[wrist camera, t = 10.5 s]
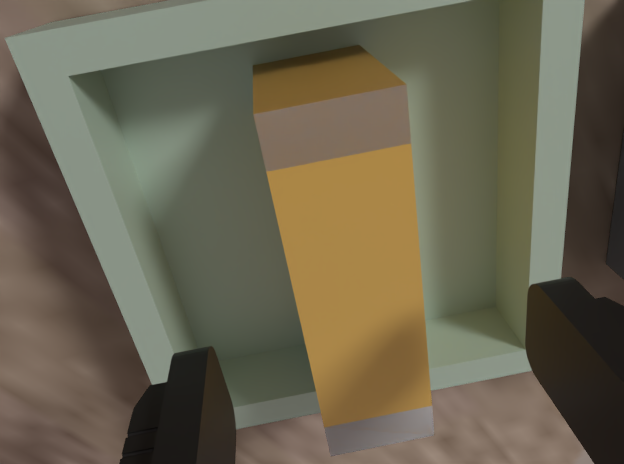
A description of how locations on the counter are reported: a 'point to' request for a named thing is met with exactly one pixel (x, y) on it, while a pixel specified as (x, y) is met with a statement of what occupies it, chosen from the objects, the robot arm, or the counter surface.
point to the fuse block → (617, 223)
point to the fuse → (350, 239)
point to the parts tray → (254, 182)
